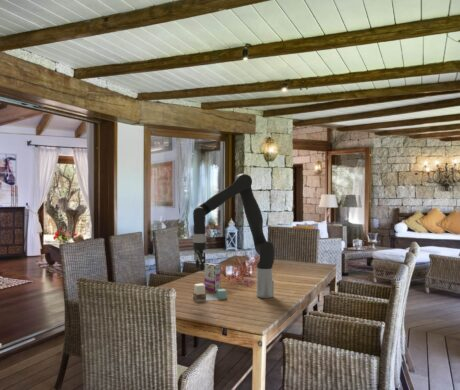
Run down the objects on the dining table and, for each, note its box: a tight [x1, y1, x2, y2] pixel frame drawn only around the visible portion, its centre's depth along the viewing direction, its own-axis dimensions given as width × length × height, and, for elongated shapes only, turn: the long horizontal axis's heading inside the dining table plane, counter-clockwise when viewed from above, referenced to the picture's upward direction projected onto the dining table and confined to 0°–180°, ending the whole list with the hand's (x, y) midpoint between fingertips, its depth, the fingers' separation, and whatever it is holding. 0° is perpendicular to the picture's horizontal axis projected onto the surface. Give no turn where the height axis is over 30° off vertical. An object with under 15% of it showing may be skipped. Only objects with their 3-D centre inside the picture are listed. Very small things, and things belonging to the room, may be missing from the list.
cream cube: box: [193, 282, 206, 295], centre depth 232 cm, size 5×5×5 cm
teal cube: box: [216, 288, 227, 300], centre depth 234 cm, size 4×4×4 cm
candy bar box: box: [203, 262, 222, 292], centre depth 254 cm, size 11×5×16 cm, turn 40°
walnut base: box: [192, 292, 207, 300], centre depth 232 cm, size 6×6×3 cm
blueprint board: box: [191, 292, 226, 302], centre depth 234 cm, size 18×13×1 cm
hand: (199, 269), depth 232 cm, fingers open, 8 cm apart
